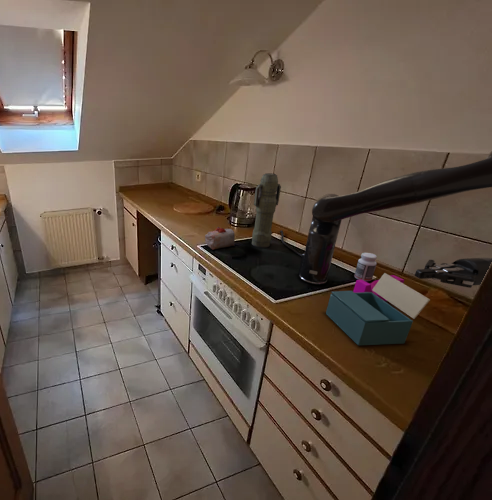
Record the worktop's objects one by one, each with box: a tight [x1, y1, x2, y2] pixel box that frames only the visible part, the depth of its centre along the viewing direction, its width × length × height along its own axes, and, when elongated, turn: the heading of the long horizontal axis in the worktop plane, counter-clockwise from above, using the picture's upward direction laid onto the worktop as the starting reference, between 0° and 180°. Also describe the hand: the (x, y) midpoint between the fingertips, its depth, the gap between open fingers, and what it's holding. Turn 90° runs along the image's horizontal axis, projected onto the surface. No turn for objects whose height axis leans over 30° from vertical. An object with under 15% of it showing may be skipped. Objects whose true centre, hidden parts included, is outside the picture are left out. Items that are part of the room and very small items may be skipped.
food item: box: [204, 226, 236, 250], centre depth 148 cm, size 14×8×10 cm, turn 109°
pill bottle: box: [353, 252, 378, 282], centre depth 114 cm, size 6×6×10 cm
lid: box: [372, 272, 431, 320], centre depth 85 cm, size 15×6×1 cm
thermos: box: [251, 172, 282, 249], centre depth 144 cm, size 9×12×35 cm
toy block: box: [352, 274, 405, 302], centre depth 102 cm, size 15×6×8 cm, turn 101°
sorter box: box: [325, 290, 414, 346], centre depth 87 cm, size 15×13×8 cm
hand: (417, 274), depth 82 cm, fingers closed
